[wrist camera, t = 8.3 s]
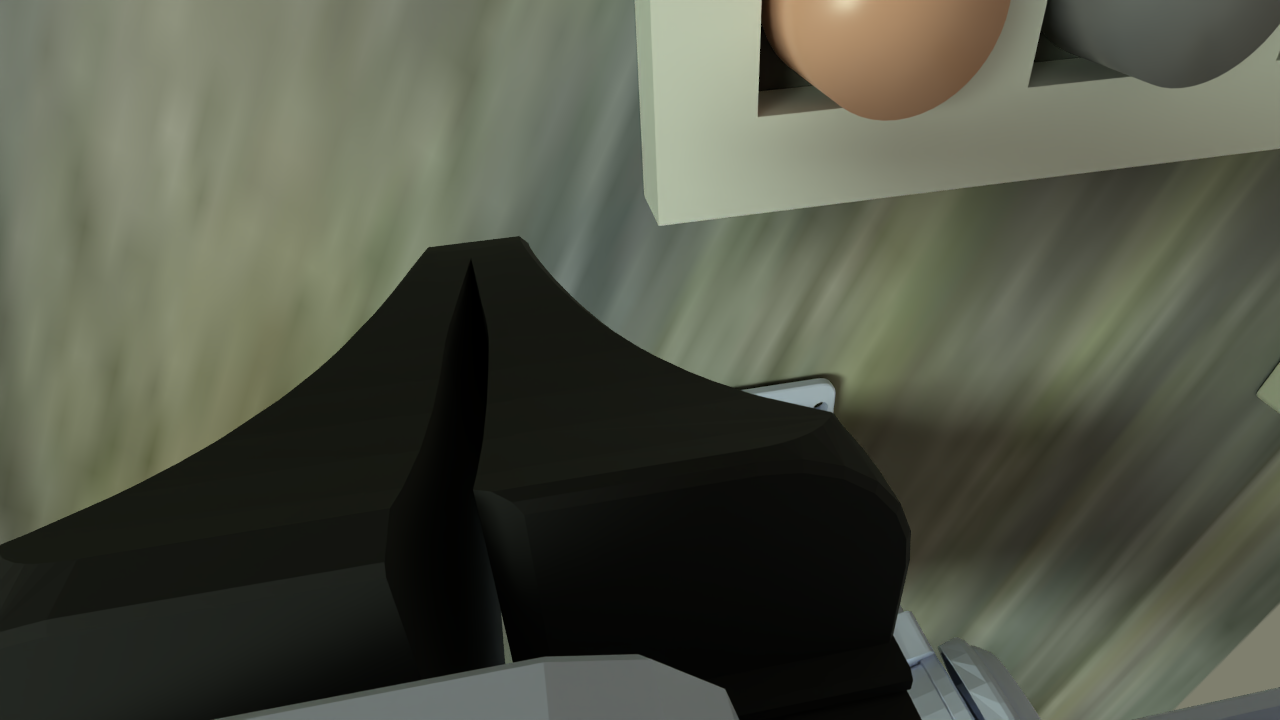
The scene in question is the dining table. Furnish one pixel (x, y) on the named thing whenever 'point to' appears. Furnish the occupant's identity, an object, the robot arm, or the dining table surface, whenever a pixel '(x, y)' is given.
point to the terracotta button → (885, 49)
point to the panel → (910, 120)
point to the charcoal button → (1162, 35)
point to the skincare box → (1271, 390)
